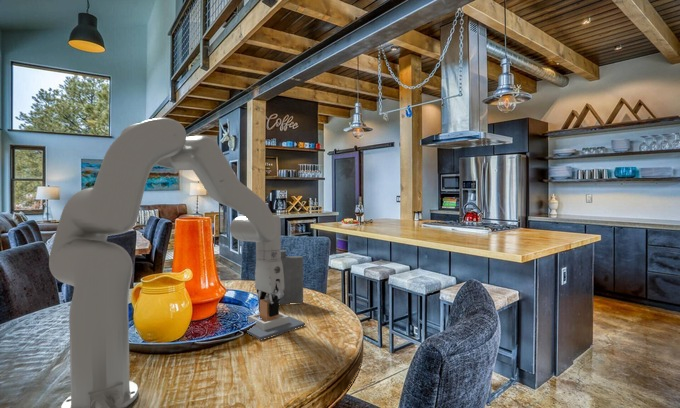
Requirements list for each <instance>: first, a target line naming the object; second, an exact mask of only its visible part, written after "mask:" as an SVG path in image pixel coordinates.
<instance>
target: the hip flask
mask: <svg viewBox="0 0 680 408" xmlns="http://www.w3.org/2000/svg"><path fill="white" fill-rule="evenodd" d="M286 255H287V250H286V249H285V250H284V249H281V260H282V265H283V272H284V291H283V292H284V295H283V296H282V297H281V299H280V302H279V304H290V303H302V302H303V303H304V256H303V255H302V256H301V255H294V256H292V255H291V256H289V255H288V256H286ZM274 292H275V290H274ZM267 296H269V293H268V294H267ZM275 296H276V295H275V294H274V295H273V298H274V297H275Z"/></svg>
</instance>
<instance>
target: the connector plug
mask: <svg viewBox="0 0 680 408" xmlns="http://www.w3.org/2000/svg"><path fill="white" fill-rule="evenodd" d="M269 303H270V298H269V296H266V297H265V299H262V300H260V312H259V313H260V318H262V321H264V322H267V321H270V320H274V319H277V318H278V315H276V316H272V317H270V316H269Z"/></svg>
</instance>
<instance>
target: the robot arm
mask: <svg viewBox="0 0 680 408" xmlns="http://www.w3.org/2000/svg"><path fill="white" fill-rule="evenodd" d="M103 156H104V157H103V159H102V162H101V165H100V167H99V170H98V173H97V176H96V178H95V179H96V180H95V182H94V185H93V186H92V187H88V188H84V189H81V190H79V191H77V192H75V193H74V194H73V195H71V196H70V197H69V199H68V200H67V202H66V203H65V205H64V207H63V209H62V212H61V215H60V217H59V218H60V219H59V222H58V226H57V228H56V230H55V231H56V232H55V234H54V238H53V241H52V245H51V249H50V251H49V252H50V253H49V258H48V267H49V271H50V273H51V275H52V276H53V277H54V279H56V280H57V281H58V282H60V283H62V284H65V285H67V286H68V285H69V286H72V287H73V293H72V299H71V302H70V307H69V316H68V317H69V318H68V322H69V323H68V328H69V352H70V353H69V359H70V360H69V363H70V395H69V396H68V397H67V398H66V399H65V400H64V401H63V402H62V404H61V406H60V408H127V407H128V406H129V405H131V404H132V403H133V402H134V401H135V400H136V399H137V397H139V386H138V384H137V383H136V382H133V380H130V330H129V329H130V327H129V326H130V325H129V297H130V296H129V295H130V288H131V282H132V277H133V270H134V269H133V267H134V266H133V261H132V257H131V256H130V254H129V252H128V251H127V249H125V248H124V247H123V246H121V245H120V244H117V243H116V242H115V243H114V242H111V241H108V237H109V235H110V236H114V235H115V236H116V235H122V234H125V233H127V232H129V231H130V230H132V228H133V227H134V226H135V224H136V223H137V221H138V217H139V214H140V209H141V206H142V205H141V204H142V201H143V197H144V193H145V188H146V185H147V181H148V178H149V176H150V173H151V171H152V170H153V168H154V167H155V166H159V167H161V168H166V169H171V170H177V171H193V172H194V174H195V175H196V177H197V178H198V180H199V181H200V183H201V184H202V186H203V187H204V189H205V190H206V193H208V195H209V196H210V198H211V199H212V200H214V201H215V202H217V203H218V204H221V205H223V206H225V207H228V208H230V209H233V210H234V211H236V212H238V213H240V214H241V215H238V216H237V217H235V218H233V219H232V221H231V222H230V223H229V224H230V225H229V233H230V236H231V237H232V238H234V239H236V240H238V241H241V242H249V243H251V242H253V243H255V260H256V261H255V269H254V272H255V273H254V288H255V290H256V293H257V299H258V312H259V313H260V300H262V299H265V297H266V296H267V294H268V293H269V298H270V303H269V316H270V317H272V316H276V315H278V314H279V312H280V311H279V310H280V305H279V302H280V299H281V297H282V296H283V295H284V292H283V291H284V272H283V265H282V260H281V250H282V249H281V248H282V245H281V243H282V240H281V237H282V235H281V234H282V233H281V231H282V229H281V228H282V227H281V226H282V225H281V224H282V222H281V221H282V220H281V217H280V216H279V215H277V214H273V213H272V211H271V209H270V208H269V206H268V205H267V203H266V202H265V201H264V200H263V199H262V197H260V196H259V195H257V193H255V192H254V191H253V190H251V188H249V187H248V186H246V185H244V183H242V182H241V181H240V179H239V178H238V176H237V175H236V173H235V171H234V170H233V168H232V166H231V165H230V163H229V161H228V160H227V157H226V155H224V152H223V150H222V148H220V145H219V144H218V143H217V141H216V140H215V139H214V138H212V137H210V136H207V135H192V136H187V131H186V128H185V127H184V125H182V124H181V122H179V121H178V120H175V119H173V118H169V117H157V118H152V119H146V120H143V121H140V122H139V123H133V124H131V125H127V126H126V127H125V128H124V129H123V130H122V131H121V133H120V135H119V136H118V137H117V138H115V139H114V141H113V142H112V143H111V144H110V146H109V148H108V149H107V151H106V152H105V155H103ZM274 290H275V292H274ZM274 294H275V295H276V296H275V297H274V298H273V295H274Z"/></svg>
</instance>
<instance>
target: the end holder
mask: <svg viewBox="0 0 680 408" xmlns="http://www.w3.org/2000/svg"><path fill="white" fill-rule="evenodd" d="M259 316H260V312H259V313H255V314H251V315H248V317H247V318H248V322H254V321H258V322H257V323H256V325H255V326H253V327H252V328H250V329H249V330H247V333H248V334H247V333H246V334H247V335H249V334H250V335H252V336H254V337H256V338H257V339H256V338H255V339H256V340H258V339H259V340H261V339H264V338H267V339H269V338H268V337H270V338H272V337H271V336H273V335H276V336H278V335H277V334H279V335H282V334H285V333H284V332H286V333H288V332H287V331H289V330H292V329H295V328H298V327H301V326H304V325H305V326H306V322H304V321H302V320H299V319H297V318H294V317H291V316H290V315H287V314H284V313H282V312H280V311H279V314H278V318H277V319H274V320H270V321H267V322H264V321H262V320H260V319H258V318H257V317H259ZM305 326H304V327H305ZM301 328H302V327H301ZM298 329H299V328H298ZM295 330H296V329H295ZM292 331H293V330H292ZM289 332H290V331H289ZM281 333H282V334H281ZM250 335H249V336H250ZM252 336H251V337H252ZM254 337H253V338H254ZM273 337H274V336H273ZM259 340H258V341H259ZM264 340H265V339H264ZM261 341H262V340H261Z"/></svg>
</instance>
